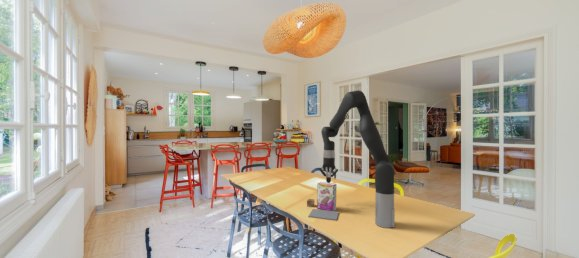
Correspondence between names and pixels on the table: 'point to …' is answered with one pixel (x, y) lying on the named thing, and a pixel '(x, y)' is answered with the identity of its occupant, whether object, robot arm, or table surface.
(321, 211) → the rubber mat
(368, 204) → the table surface
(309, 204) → the walnut block
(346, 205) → the table surface
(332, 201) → the candy bar box
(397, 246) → the table surface
